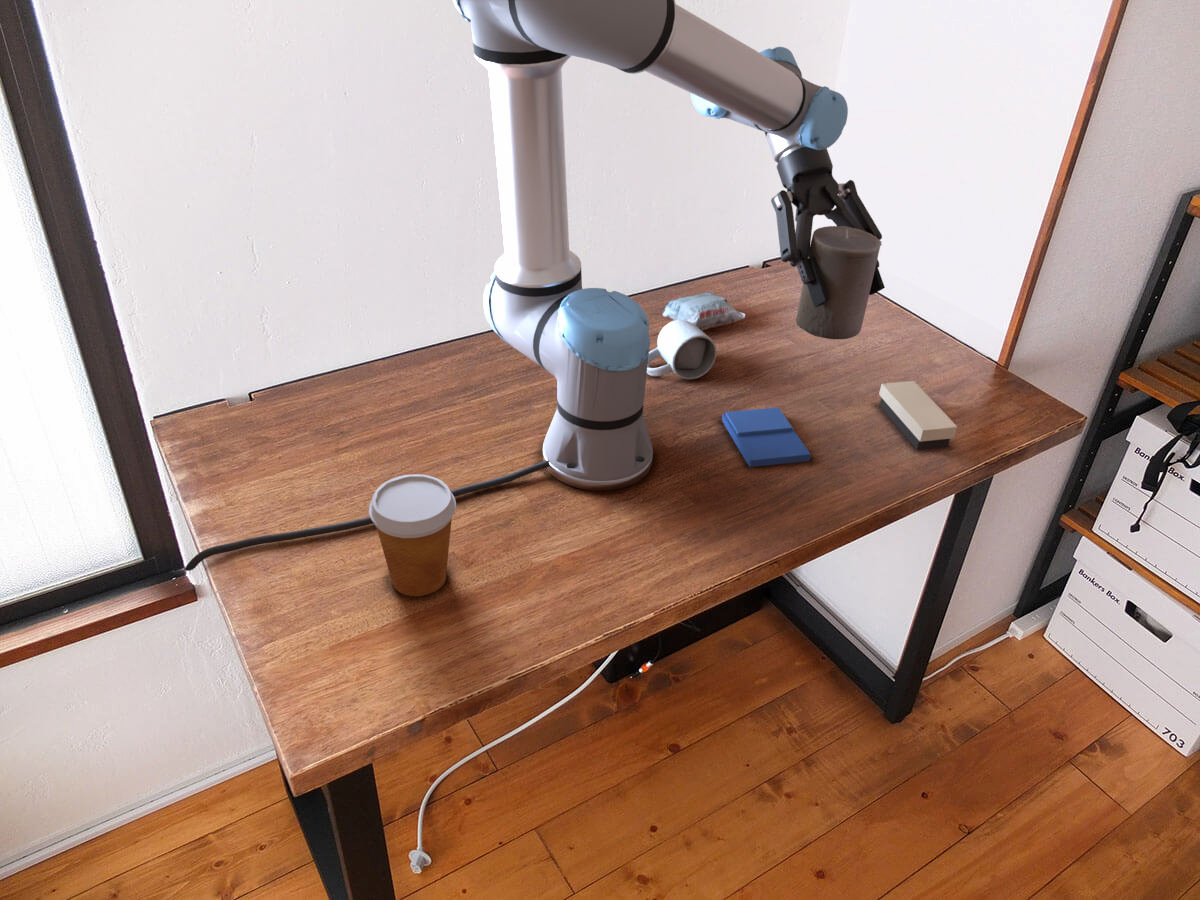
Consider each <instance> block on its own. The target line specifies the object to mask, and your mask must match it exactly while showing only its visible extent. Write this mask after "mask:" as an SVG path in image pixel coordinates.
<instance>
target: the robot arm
mask: <svg viewBox="0 0 1200 900" xmlns="http://www.w3.org/2000/svg"><path fill="white" fill-rule="evenodd" d="M452 2H453V5H454V6H455V9H456V10H457V11H458V13H459V14H460V15H461V17H462V18H463V19H464V20H466V21H467V22H468V23H470V26H471V37H472V38H471V39H472V46H473V56H474V58H475V59H476V61H478V63H480V64H481V65H482V66H483V67H485V68H486V70H487V71H488V78H489V79H488V80H489V89H490V101H491V113H492V123H493V124H492V125H493V134H494V135H493V136H494V137H493V138H494V146H495V147H494V149H495V158H496V170H497V181H498V192H499V203H500V213H501V215H500V216H501V226H502V237H503V248H504V249H503V250H504V253H503V254H502V255H500V256H499V258H498V259H497V260H496V262H495V265H494V271H493V272H492V274H491V276H490V279H491V281H490V282H489V283H487V284H486V285H485V288H484V292H483V311H484V315H485V318H486V321H487V323H488V324H489V326H490V328H491V329H492V330H493V332H494V333H496V334H497V335H498V337H499V338H500V339H501V340H502V341H503V342H505V344H507V345H508V346H511V347H512V348H513V349H515V350H517V351H518V352H519V353H521V354H522V355H524V356H525V357H527V358H528V359H529V360H531V361H532V362H534V363H535V364H536V365H538V366H539V367H540V368H542V369H543V370H545V371H547V372H548V373H549V374H551V376H553V377H555V380H556V382H557V386H556V410H555V412H554V415H553V418H552V420H551V422H550V425H549V428H548V429H547V432H546V434H545V437H544V440H543V444H542V461H540V462H538V463H535V464H532V465H529V466H527V467H525V468H522V469H520V470H517V471H514V472H511V473H509V474H506V475H503V476H500V477H497V478H494V479H490V480H486V481H485V480H484V481H481V482H476V483H474V484H473V483H472V484H470V485H465V486H462V487H458V488H455V489H451V490H450V492H451V493H452V494H453V496H454V497H455V498H456V497H458V496H462V495H466V494H470V493H473V492H478V491H481V490H485V489H490V488H494V487H496V486H500V485H503V484H507V483H509V482H510V483H511V482H513V481H515V480H517V479H520V478H523V477H525V476H527V475H530V474H533V473H536V472H538V471H541V470H543V469H546V470H547V471H548V473H549V474H550V475H551V476H553V477H554V478H555V479H556V480H557V481H560V482H562V483H563V484H565V485H567V486H571V487H573V488H577V489H582V490H587V491H595V492H596V491H598V492H601V491H602V492H603V491H605V492H606V491H615V490H619V489H622V488H623V489H624V488H627V487H630V486H632V485H634V484H636V483H638V482H640V481H641V480H643V478H645V477H646V476H647V475H648V473H649V472H650V470H651V468H652V465H653V457H654V455H653V454H654V449H653V443H652V440H651V436H650V433H649V429H648V426H647V423H646V421H647V419H646V418H645V415H644V403H645V393H646V384H647V383H646V382H647V375H648V374H647V365H648V355H649V352H650V346H651V338H650V322H649V319H648V315H647V314H646V311H645V310H644V308H643V307H642V306H641V305H640V304H639V303H638V302H637V301H636V300H634V299H633V298H631V296H628V295H626V294H624V293H622V292H619V291H616V290H612V291H608V290H607V289H606V288H604V287H603V288H602V287H587V288H583V279H582V277H583V275H582V262H581V259H580V257H579V256H578V254H576V253H575V252H573V251H572V250H571V249H570V236H569V213H568V209H569V208H568V190H567V167H566V166H567V165H566V142H565V122H564V121H565V120H564V119H565V118H564V98H563V95H564V94H563V77H562V76H563V74H562V69H563V66H564V65H565V64H566V62H567V61H568V60H569V59H570V58H571V57H578V58H581V59H586V60H588V61H589V60H590V61H594V62H597V63H600V64H604V65H608V66H610V67H613V68H615V69H617V70H619V71H622V72H624V73H626V74H631V75H635V74H640V73H643V72H646V73H648V74H650V75H653V76H654V77H657V78H659V79H660V80H662V81H665V82H667V83H668V84H671V85H673V86H675V87H678V88H679V89H681V90H683V91H686V92H687V93H690V98H691V102H692V104H693V105H692V106H693V107H694V109H695V110H696V111H697V112H698V113H699V114H700V115H702V116H704V117H709V118H714V119H715V120H720V119H727V120H731V121H734V122H737V123H739V124H741V125H745V126H747V127H750V128H753V129H756V130H758V131H762V132H764V135H765V137H766V141H767V143H768V146H769V150H770V153H771V156H772V158H773V161H774V162H775V163H777V165H776V170H777V174H778V176H779V178H780V181H781V185H782V187H783V188H785V189H786V190H784V189H783V190H780V191H779V192H777V194H776V195H774V196H773V197H772V198H771V200H770V201H771V205H772V207H773V210H774V211H775V215H776V217H775V218H776V225H777V232H778V234H777V235H778V242H779V243H778V244H779V251H780V253H779V254H780V260H781V262H783V263H787V262H789V265H790V266H791V267H794V268H795V267H796V268H797V271H798V274H799V277H800V279H801V282H802V284H803V283H804V285H805V284H807V287H808V289H809V292H810V295H811V298H812V301H813V304H814V307H818V306H820V305H822V304H824V303H825V302H827V301H829V300H830V299H829V296H828V293H827V290H826V287H825V284H824V281H823V278H822V276H821V273H820V270H819V267H818V264H817V261H816V258H815V257H811V258H809V259H808V257H809V252H810V245H811V240H812V234H813V233H812V231H813V224H814V223H813V222H814V216H825V217H826V219H827V220H831V221H832V222H833V223H834V224H835V226H847V227H851V228H855V229H859V230H862V231H864V232H868V233H870V234H872V235H873V236H876V237H877V239H879V240H880V241H881V240H882V239H883V235H882V232H881V231H880V229H879V228H878V226H877V224H876V223H875V221H874V220H873V218H872V216H871V214H870V212H869V211H868V209H867V208H866V206H865V204H864V202H863V201H862V199H861V197H860V195H859V194H858V190H857V186H856V183H855V181H854V180H852V179H848V181H846V182H845V183H842V182H841V183H838V182H837V181H836V179H835V178H834V176H833V168H834V165H833V162H832V159H831V156H830V153H829V151H828V148H830V147H831V146H833V145H834V144H835V143H836V142H837V141H838V140H839V139H840V137H841V135H842V134H843V131H844V128H845V126H846V125H847V121H848V114H849V108H848V103H847V100H846V98H845V97H844V95H843V94H842V93H840V92H838V91H835V90H833V89H830V87H828V86H825V85H824V86H821V85H818V84H815V83H813V82H811V81H809V80H807V79H805V78H804V77H803V73H802V70H801V69H800V67H799V65H798V63H797V61H796V58H795V55H794V54H793V53H792V51H791V50H790V49H789V48H787V47H784V46H776V47H774V48H766V49H764V50H762V51H760V52H759V51H757V50H755V49H754V48H752V47H750V45H747V44H745V43H744V42H742V41H740V40H738V39H737V38H735V37H733V36H731V35H730V34H728V33H727V32H725V31H724V30H721V29H720V28H717V27H716V26H714V25H713V24H711V23H710V22H708V21H706V20H705V19H703V18H700V17H699V16H697V15H695V14H694V13H692V12H690V11H689V10H687V9H685V8H684V7H682V6H681V5H679V4H677V2H676V0H452ZM793 206H794V207H796V209H795V217H794V208H793ZM795 222H796V224H795ZM879 268H880V262H879V258H878V259H877V263H876V267H875V272H874V276H873V280H872V285H871V289H870V293H869V296H872V295H875V294H876V293H878V292H880V291H882V290H883V289H885V288H886V287H885V284H884V281H883V278H882V275H881V272H880V270H879ZM373 524H374V522H373V521H372V520H371V518H370V516H366V517H363V518H358V519H354V520H349V521H344V522H340V523H335V524H329V525H323V526H318V527H311V528H305V529H300V530H293V531H288V532H282V533H281V532H280V533H275V534H267V535H261V536H256V537H251V538H247V539H241V540H238V541H233V542H229V543H224V544H220V545H216V546H212V547H209V548H206V549H204V550H201V551H200V552H198V553H197V554H196V555H195V556H194V557H192V558H191V559H190V561H188V563H187V564H186V565H185V568H184V570H185V571H186V572H190V571H193V570H194V569H196V567H197V566H198V565H199V564H200V563H201V562H203V561H204V560H206V559H207V558H209V557H212V556H216V555H218V554H222V553H228V552H232V551H237V550H241V549H245V548H249V547H253V546H254V547H255V546H258V545H264V544H269V543H278V542H285V541H291V540H296V539H302V538H307V537H309V538H310V537H314V536H318V535H319V536H320V535H325V534H333V533H336V532H342V531H346V530H352V529H355V528H360V527H361V528H362V527H365V526H368V525H373Z"/></svg>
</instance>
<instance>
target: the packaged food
mask: <svg viewBox="0 0 1200 900" xmlns="http://www.w3.org/2000/svg"><path fill="white" fill-rule="evenodd" d="M662 317H664V318H666V317H668V318H670V319H672V320H678V319H682V320H686V321H689V322H691V323H693V324H694V325H696V326H697V327H698V328H699V329H700V330H701V331H704V330H708V329H715V328H718V327H721V326H725V325H730V324H733V323H735V322H737V321H740V320H743V319H745V317H746V314H745V313H744V312H741V311H739V310H736V309H735V308H734V307H732V305H730V304H729V302H728V299H727V298H725V297H722V296H720V295H717V294H715V293H713V292H710V291H709V292H708V291H707V292H705V293H700V294H696V295H690V296H683V297H679V298H676V299H673V300H670V301H669V302H668V303H667V304H666V305H665V307H664V310H663V311H662Z"/></svg>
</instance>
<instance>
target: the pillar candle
mask: <svg viewBox="0 0 1200 900" xmlns="http://www.w3.org/2000/svg"><path fill="white" fill-rule="evenodd" d="M882 243H883V242H882V241H881V240H879V239H877V237H876V236H873V235H872V234H870V233H868V232H864V231H862V230H859V229H855V228H851V227H847V226H837V225H828V226H823V227H818V228H816V229H815V230H814V231H813V233H812V235H811V243H810V252H809V257H808V259H809V258H811V257H815V258H816V261H817V264H818V267H819V270H820V273H821V276H822V278H823V281H824V284H825V287H826V290H827V293H828V296H829V299H830V300H829V301H827V302H825V303H824V304H822V305H820V306H818V307H814V304H813V301H812V298H811V295H810V292H809V289H808V287H807V284H805V285H804V283H803V282H802V286H801V290H800V296H799V301H798V306H797V312H796V318H795V322H796V325H797V326H798V327H799V328H800V329H801V330H803V331H805V332H806V333H808V334H809V335H812V336H814V337H817V338H822V339H828V340H848V339H852V338H854V337H857V336H858V335H859V334H860V332H861V331H862V328H863V322H864V318H865V314H866V310H867V305H868V301H869V297H870V295H869V293H870V289H871V285H872V280H873V276H874V272H875V267H876V263H877V259H878V260H879V254H880V249H881V246H882V245H883V244H882Z"/></svg>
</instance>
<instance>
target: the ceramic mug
mask: <svg viewBox="0 0 1200 900" xmlns="http://www.w3.org/2000/svg"><path fill="white" fill-rule="evenodd" d="M656 345H657V346H656V347H655V348H653V349H651V350H649V355H648V365H647V375H649V376H651V377H661V376H665V375H667V374H671V373H672V372H673V373H674V374H675V375H676V376H677V377H678V378H680V379H683V380H696V379H699V378H701V377H703V376H705V374H707V373H708V372H709V371H710V370H711V369H712V367H713V365H714V364H715V362H716V358H717V346H716V344H715V342H714V340H713V339H712V338H711V337H710V336H708V335H707V334H706V333H705V332H704V330H702V331H701V330H700V329H699V328H698V327H697V326H696V325H694V324H693V323H691V322H689V321H686V320H682V319H678V320H674V319H672V320H671V321H669V322H668V323H666V324H665V325H664V326H663V327H662V328H661V329H660V331H659V333H658V335H657V338H656ZM659 356H661V357H662V358H663V359H664V361H665V362H666V363H667V364H665V365H664V364H663V365H661V366H659V367H650V363H651V362H652V361H653V360H654V359H656V358H657V357H659Z"/></svg>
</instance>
